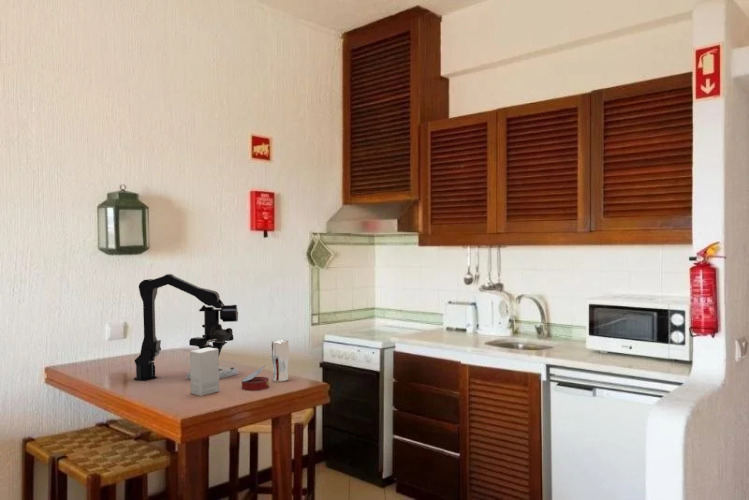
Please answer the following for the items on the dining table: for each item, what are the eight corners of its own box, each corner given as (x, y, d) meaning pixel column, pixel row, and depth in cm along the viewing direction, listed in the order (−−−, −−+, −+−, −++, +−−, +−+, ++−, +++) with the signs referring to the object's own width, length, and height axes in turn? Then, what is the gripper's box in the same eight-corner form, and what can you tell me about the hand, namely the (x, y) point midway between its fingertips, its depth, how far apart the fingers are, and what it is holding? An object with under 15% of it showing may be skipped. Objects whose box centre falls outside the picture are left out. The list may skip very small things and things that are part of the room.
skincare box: (209, 389, 218) (209, 346, 218) (220, 391, 214) (220, 348, 214) (189, 393, 212) (189, 350, 212) (200, 396, 207) (199, 351, 207)
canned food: (259, 403, 216) (252, 381, 211) (239, 397, 221) (231, 376, 216) (278, 383, 224) (271, 362, 219) (258, 377, 229) (251, 357, 225)
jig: (207, 381, 231) (207, 374, 231) (186, 378, 237) (186, 371, 237) (237, 374, 244) (237, 367, 244) (217, 371, 251) (217, 364, 251)
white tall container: (285, 382, 228) (285, 343, 228) (268, 381, 229) (268, 342, 229) (291, 378, 235) (291, 340, 235) (275, 377, 236) (274, 340, 236)
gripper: (207, 325, 228) (208, 366, 228) (242, 320, 244) (243, 358, 244) (188, 324, 234) (188, 363, 234) (223, 319, 250) (223, 356, 250)
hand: (212, 360), depth 241 cm, fingers closed on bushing, 4 cm apart
